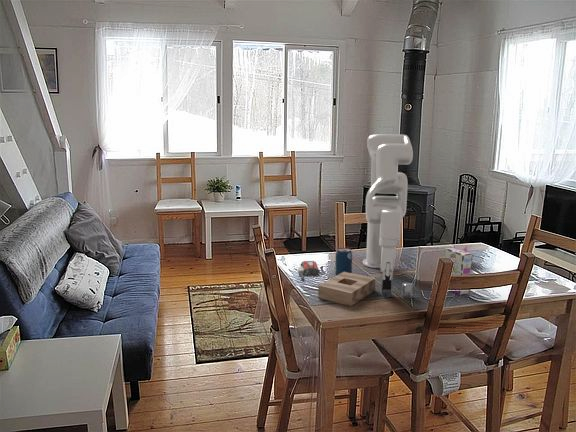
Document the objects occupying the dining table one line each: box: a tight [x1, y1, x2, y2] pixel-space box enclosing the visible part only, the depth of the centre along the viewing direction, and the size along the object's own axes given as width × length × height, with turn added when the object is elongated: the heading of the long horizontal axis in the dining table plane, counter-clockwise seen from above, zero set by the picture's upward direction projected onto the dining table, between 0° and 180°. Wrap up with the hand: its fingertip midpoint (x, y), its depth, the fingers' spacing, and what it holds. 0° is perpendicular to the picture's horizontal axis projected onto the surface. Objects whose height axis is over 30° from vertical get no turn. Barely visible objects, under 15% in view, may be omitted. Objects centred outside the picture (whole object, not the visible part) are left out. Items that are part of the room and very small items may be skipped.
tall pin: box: [381, 270, 394, 298], centre depth 203 cm, size 4×4×11 cm
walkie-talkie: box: [297, 260, 320, 280], centre depth 229 cm, size 9×4×20 cm
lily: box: [462, 244, 473, 252], centre depth 243 cm, size 12×12×10 cm
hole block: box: [317, 272, 376, 307], centre depth 204 cm, size 20×14×5 cm
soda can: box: [334, 247, 353, 276], centre depth 223 cm, size 7×7×12 cm
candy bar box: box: [443, 246, 474, 296], centre depth 208 cm, size 11×5×16 cm, turn 22°
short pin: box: [401, 282, 414, 300], centre depth 202 cm, size 4×4×5 cm
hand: (387, 286), depth 203 cm, fingers closed on tall pin, 4 cm apart
